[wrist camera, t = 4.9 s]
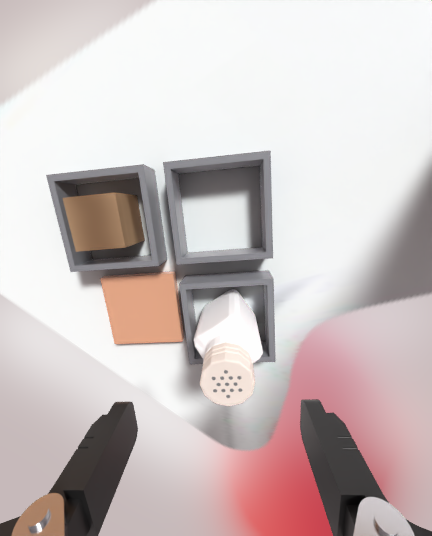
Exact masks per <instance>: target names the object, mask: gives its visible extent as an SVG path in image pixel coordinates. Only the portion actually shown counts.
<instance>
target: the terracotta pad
mask: <svg viewBox="0 0 432 536" xmlns="http://www.w3.org/2000/svg"><path fill="white" fill-rule="evenodd" d="M100 279H101V284H102V288H103V293H104V297H105V302H106V306H107V311H108V315H109V320H110V324H111V329H112V334H113V338H114V343H115V344H131V343H158V342H182V341H183V339H184V333H183V325H182V318H181V311H180V303H179V296H178V288H177V281H176V273H175V271H172V272H157V273H142V274H126V275H111V276H104V277H102V278H100Z"/></svg>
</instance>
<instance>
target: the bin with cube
mask: <svg viewBox="0 0 432 536" xmlns="http://www.w3.org/2000/svg"><path fill="white" fill-rule="evenodd" d="M46 176H47V180H48V184H49V188H50V192H51V196H52V200H53V204H54V208H55V212H56V216H57V219H58V223H59V227H60V231H61V235H62V239H63V243H64V247H65V251H66V255H67V259H68V263H69V267H70V271H71V272H76V271H91V270H106V269H121V268H135V267H150V266H159V265H161V264H162V263H163V262H165V261H166V260H167V254H166V247H165V240H164V233H163V226H162V219H161V212H160V204H159V197H158V190H157V183H156V176H155V170H154V169H152V168H150V167H148V166H146V165H144V164H143V165H134V166H125V167H116V168H107V169H98V170H88V171H79V172H70V173H61V174H52V175H46ZM134 178H139V181H140V187H141V193H142V200H143V206H144V212H145V219H146V225H147V231H148V237H149V244H150V250H151V255H148V256H134V257H120V258H106V259H93V260H92V256H91V251H79V252H76V250H75V246H74V242H73V238H72V234H71V230H70V226H69V222H68V218H67V214H66V210H65V206H64V202H63V198H66V197H75V196H78V194H77V189H76V185H77V184H86V183H96V182H105V181H115V180H125V179H134Z"/></svg>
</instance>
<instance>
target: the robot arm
mask: <svg viewBox="0 0 432 536" xmlns="http://www.w3.org/2000/svg"><path fill="white" fill-rule="evenodd" d="M300 428H301V435H302V440H303V443H304V446H305V450H306V453H307V456H308V459H309V462H310V465H311V468H312V471H313V474H314V477H315V481H316V483H317V487H318V490H319V493H320V496H321V499H322V502H323V505H324V508H325V512H326V515H327V518H328V520H329V524H330V527H331V530H332V533H333V536H432V531H429V530H426V529H424V528H421V527H419V526H417V525H415V524H413V523H411V522H409V521H408V520H407V519H405V518H404V517H403V515H402V514H401V513H400V512H399V511H398V510H397V509H396V508H395V507H393V506H392V505H391V504H389V502H388V501H387V500H386V498H385V497H384V495H383V494H382V492H381V490H380V488H379V486H378V484H377V482H376V481H375V479H374V477H373V475H372V473H371V471H370V470H369V468H368V466H367V464H366V462H365V460H364V458H363V457H362V455H361V453H360V451H359V450H358V448H357V446H356V444H355V442H354V440H353V439H352V437H351V435H350V433H349V431H348V429H347V427H346V425H345V424H344V423H343V422H342V421H341V420H340V419H339V418H338V417H337V416H336V415H335V414H334V413H326V412H325V410H324V408H323V406H322V404H321V402H320V401H319V400H301V421H300ZM137 431H138V428H137V421H136V416H135V411H134V406H133V403H132V402H115V403H114V405H113V406H112V408H111V409H110V411H109V413H108V414H107V415H102V416H101V417H100V418H99V419H98V420H97V421H96V422H95V423H94V424H92V426H91V428H90V429H89V430H88V432H87V434H86V435H85V438H84V439H83V440H82V442H81V443H80V445H79V446H78V449H77V450H76V451H75V453H74V455H73V456H72V457H71V459H70V461H69V462H68V464H67V465H66V467H65V468H64V470H63V472H62V473H61V475H60V477H59V478H58V480H57V481H56V483H55V484H54V486H53V488H52V489H51V490H50V492H49V493H48V494H47V495H44V496H43V497H41V498H39V499H38V500H36V501H35V502H34V503H32V504H31V505H30V506H29V507H28V508H27V509H26V510H25V511H24V513H23V514H22V515H21V516H20V517H18V518H15V519H12V520H9V521H6V522H4V523H1V524H0V536H98V534H99V532H100V529H101V527H102V524H103V522H104V519H105V517H106V514H107V512H108V509H109V507H110V504H111V502H112V499H113V497H114V494H115V492H116V489H117V487H118V484H119V481H120V479H121V477H122V474H123V472H124V469H125V467H126V464H127V461H128V459H129V456H130V454H131V451H132V449H133V446H134V444H135V441H136V437H137Z"/></svg>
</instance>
